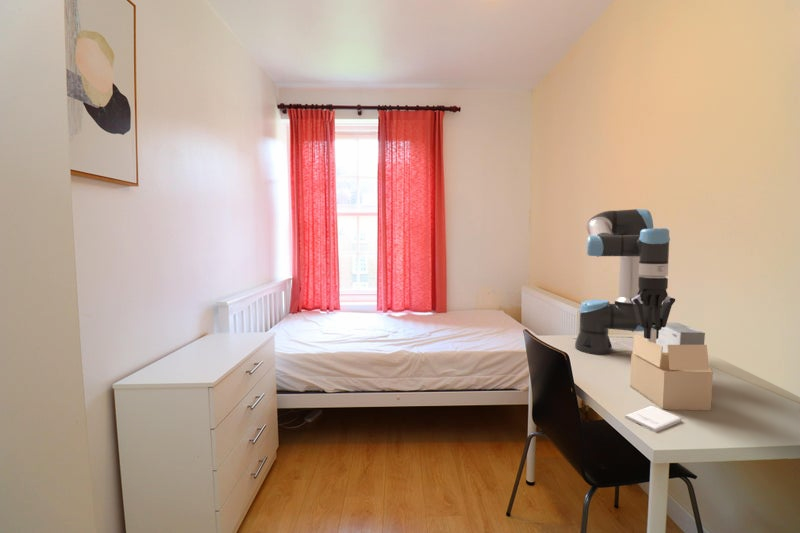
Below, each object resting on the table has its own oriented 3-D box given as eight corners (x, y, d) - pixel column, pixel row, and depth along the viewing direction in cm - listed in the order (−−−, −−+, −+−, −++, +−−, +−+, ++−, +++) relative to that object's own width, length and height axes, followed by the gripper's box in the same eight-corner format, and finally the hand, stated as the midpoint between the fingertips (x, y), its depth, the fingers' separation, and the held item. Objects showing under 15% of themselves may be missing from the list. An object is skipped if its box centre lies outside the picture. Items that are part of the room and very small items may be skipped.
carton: (629, 385, 119) (630, 352, 118) (672, 386, 118) (674, 352, 117) (662, 409, 103) (664, 370, 102) (713, 410, 102) (715, 370, 101)
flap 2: (667, 344, 102) (667, 344, 102) (705, 344, 102) (706, 344, 101) (669, 369, 102) (670, 369, 101) (708, 369, 101) (709, 370, 100)
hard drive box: (702, 390, 115) (706, 333, 113) (677, 388, 117) (680, 332, 115) (675, 372, 130) (678, 322, 129) (653, 371, 132) (655, 321, 130)
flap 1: (633, 352, 116) (632, 352, 116) (635, 334, 116) (634, 334, 116) (660, 367, 103) (659, 367, 103) (663, 346, 103) (662, 346, 103)
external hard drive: (681, 423, 96) (655, 434, 91) (650, 410, 104) (624, 419, 99) (681, 418, 96) (655, 428, 91) (650, 405, 104) (624, 414, 99)
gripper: (639, 278, 104) (637, 352, 106) (683, 277, 103) (680, 352, 105) (624, 275, 111) (623, 344, 113) (665, 275, 111) (662, 344, 113)
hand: (650, 348), depth 109 cm, fingers closed
